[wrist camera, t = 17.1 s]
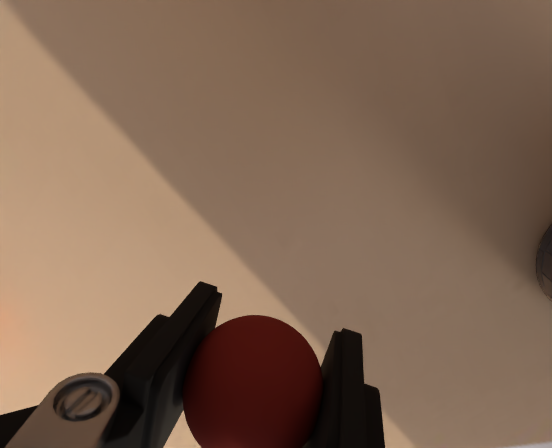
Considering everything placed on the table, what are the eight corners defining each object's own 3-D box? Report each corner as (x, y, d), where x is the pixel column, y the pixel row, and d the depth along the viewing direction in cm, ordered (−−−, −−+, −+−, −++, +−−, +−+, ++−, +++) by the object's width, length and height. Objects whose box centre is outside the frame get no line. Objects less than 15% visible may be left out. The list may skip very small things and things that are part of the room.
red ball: (343, 313, 10) (340, 417, 7) (308, 405, 12) (292, 530, 8) (223, 275, 11) (166, 356, 7) (203, 368, 12) (146, 473, 9)
